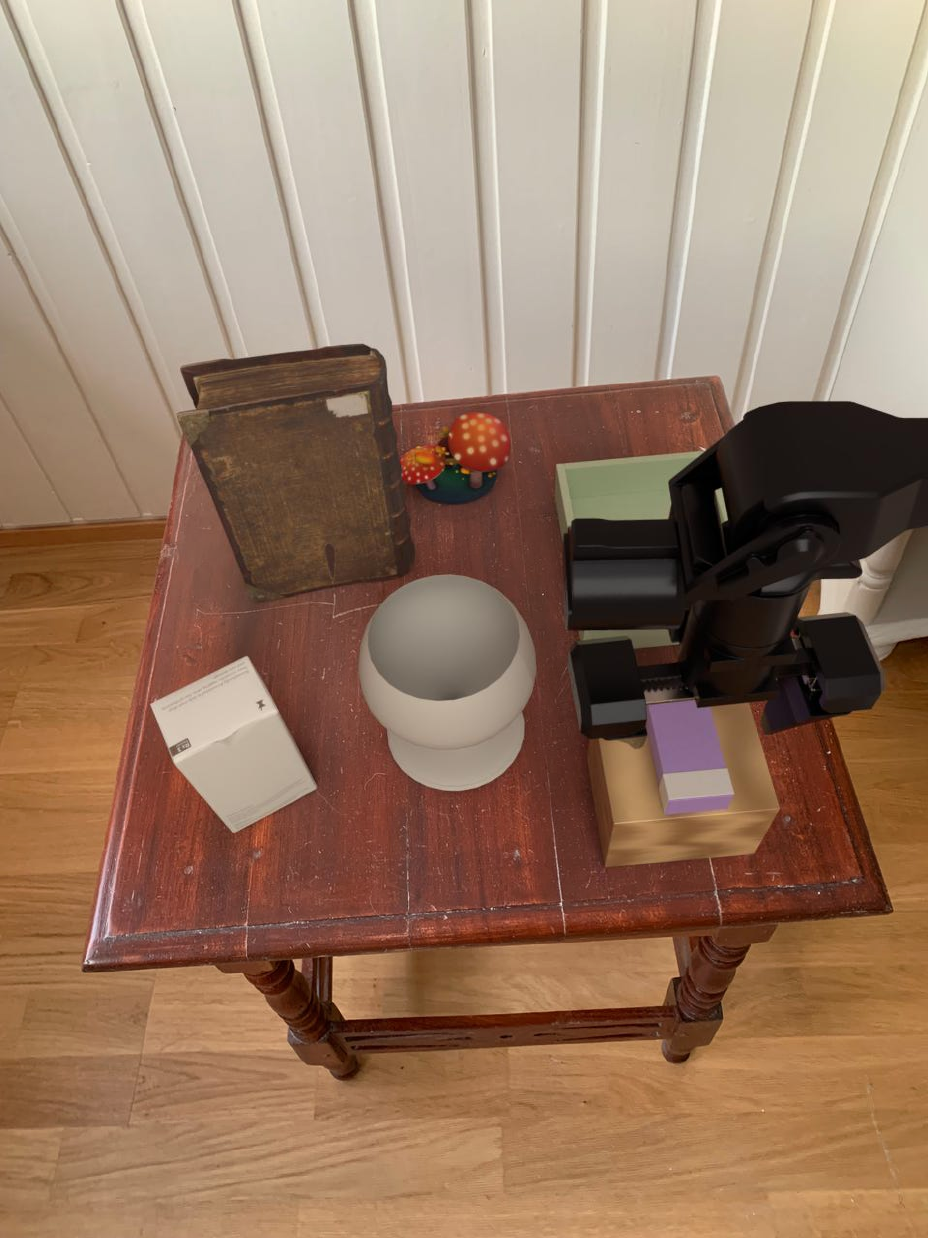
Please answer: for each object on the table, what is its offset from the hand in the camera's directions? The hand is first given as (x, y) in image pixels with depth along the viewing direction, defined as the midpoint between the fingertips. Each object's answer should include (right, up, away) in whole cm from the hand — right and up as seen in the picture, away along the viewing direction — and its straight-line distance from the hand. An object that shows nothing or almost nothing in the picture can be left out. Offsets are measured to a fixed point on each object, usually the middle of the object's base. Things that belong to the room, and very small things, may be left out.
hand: (700, 735), depth 64 cm
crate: (0, -7, +11) cm, 13 cm away
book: (-30, +13, +27) cm, 42 cm away
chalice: (-17, -2, +16) cm, 24 cm away
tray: (+1, +14, +26) cm, 29 cm away
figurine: (-18, +24, +34) cm, 45 cm away
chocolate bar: (0, -2, +4) cm, 4 cm away
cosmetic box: (-34, -6, +14) cm, 37 cm away
